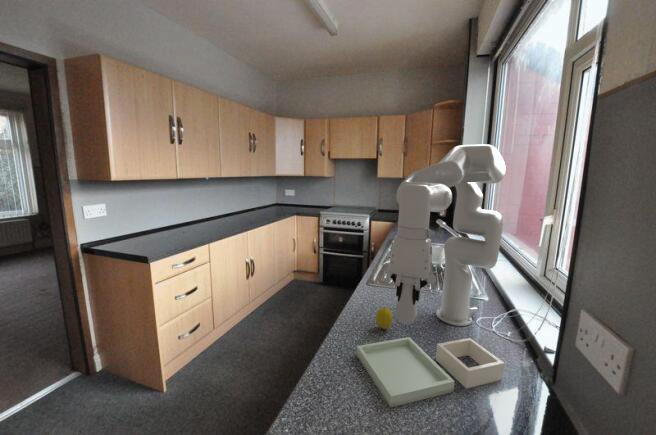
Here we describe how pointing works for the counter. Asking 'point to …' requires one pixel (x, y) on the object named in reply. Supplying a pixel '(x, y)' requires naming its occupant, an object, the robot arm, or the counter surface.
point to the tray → (403, 371)
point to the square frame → (466, 376)
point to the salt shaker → (406, 302)
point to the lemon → (384, 317)
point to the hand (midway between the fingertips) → (407, 300)
